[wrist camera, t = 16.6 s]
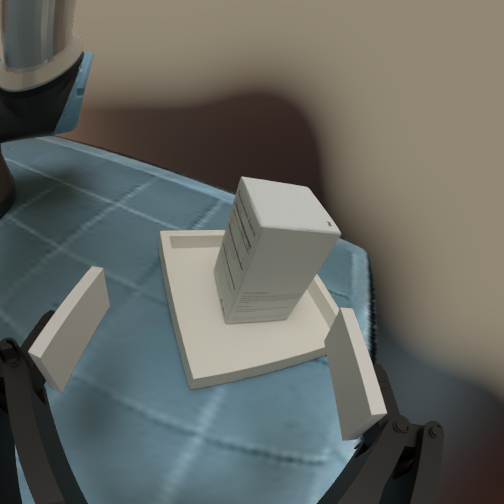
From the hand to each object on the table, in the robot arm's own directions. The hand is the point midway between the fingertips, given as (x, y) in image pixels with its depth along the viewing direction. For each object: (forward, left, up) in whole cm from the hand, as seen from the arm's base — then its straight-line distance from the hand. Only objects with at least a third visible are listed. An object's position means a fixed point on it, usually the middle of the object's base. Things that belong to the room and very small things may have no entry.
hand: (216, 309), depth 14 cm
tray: (-8, +9, -12) cm, 17 cm away
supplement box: (-8, +9, -11) cm, 17 cm away
